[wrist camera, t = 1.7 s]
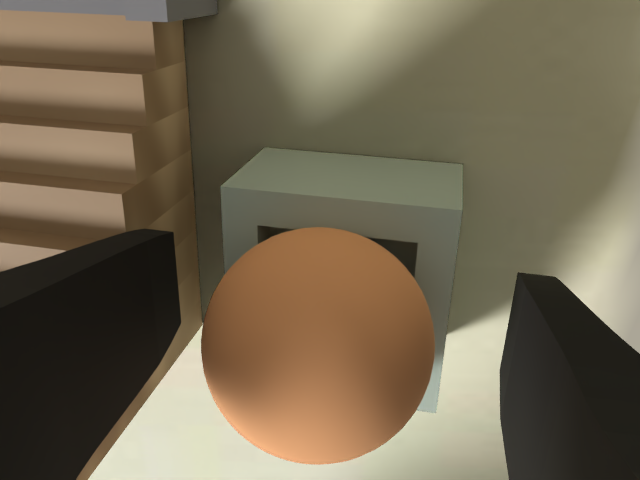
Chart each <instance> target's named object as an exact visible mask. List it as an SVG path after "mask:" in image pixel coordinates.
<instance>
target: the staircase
mask: <svg viewBox="0 0 640 480" xmlns="http://www.w3.org/2000/svg"><path fill="white" fill-rule="evenodd" d="M138 229H153V230H161V231H170V232H174V244H175V255H176V266H177V278H178V289H179V301H180V312H181V325H180V327H179V329H178V331H177V333H176V335H175V337H174V339H173V341H172V343H171V345H170V347H169V348H168V350H167V352H166V354H165V356H164V357H163V359H162V361H161V363H160V364H159V366H158V367H157V369H156V370H155V371H154V373H153V374H152V376H151V377H150V378H149V380H148V381H147V382H146V384H145V385H144V387H143V388H142V389H141V391H140V392H139V393H138V395H137V396H136V397H135V399H134V400H133V401H132V403H131V404H130V405H129V407H128V408H127V409H126V411H125V412H124V413H123V415H122V416H121V417H120V419H119V420H118V421H117V423H116V424H115V425H114V427H113V428H112V429H111V431H110V432H109V433H108V435H107V436H106V437H105V439H104V440H103V441H102V443H101V444H100V445H99V447H98V448H97V449H96V451H95V452H94V454H93V455H92V456H91V458H90V459H89V461H88V462H87V464H86V465H85V467H84V468H83V470H82V471H81V473H80V474H79V476H78V477H77V479H76V480H88V478H89V477H90V476H91V474H92V473H93V472H94V470H95V469H96V467H97V466H98V465H99V463H100V462H101V461H102V459H103V458H104V457H105V455H106V454H107V453H108V451H109V450H110V449H111V447H112V446H113V445H114V443H115V442H116V441H117V439H118V438H119V436H120V435H121V434H122V432H123V431H124V430H125V428H126V427H127V426H128V424H129V423H130V422H131V420H132V419H133V418H134V416H135V415H136V414H137V412H138V411H139V410H140V408H141V407H142V405H143V404H144V403H145V401H146V400H147V399H148V397H149V396H150V395H151V393H152V392H153V391H154V389H155V388H156V387H157V385H158V384H159V383H160V381H161V380H162V379H163V377H164V376H165V374H166V373H167V372H168V370H169V369H170V368H171V366H172V365H173V364H174V362H175V361H176V360H177V358H178V357H179V356H180V354H181V353H182V352H183V350H184V349H185V347H186V346H187V345H188V343H189V342H190V341H191V339H192V338H193V337H194V335H195V334H196V333H197V331H198V330H199V329H200V327H201V326H202V310H201V295H200V279H199V264H198V249H197V233H196V218H195V202H194V187H193V172H192V156H191V141H190V125H189V110H188V94H187V79H186V64H185V48H184V33H183V20H179V21H173V22H150V21H128V20H126V18H125V16H124V15H102V14H80V13H57V12H35V11H12V10H0V272H1V271H5V270H8V269H11V268H15V267H18V266H21V265H24V264H28V263H31V262H34V261H38V260H41V259H44V258H47V257H50V256H53V255H56V254H59V253H62V252H65V251H68V250H71V249H74V248H77V247H80V246H83V245H86V244H89V243H92V242H95V241H98V240H101V239H105V238H108V237H111V236H114V235H118V234H121V233H125V232H129V231H133V230H138Z"/></svg>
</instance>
